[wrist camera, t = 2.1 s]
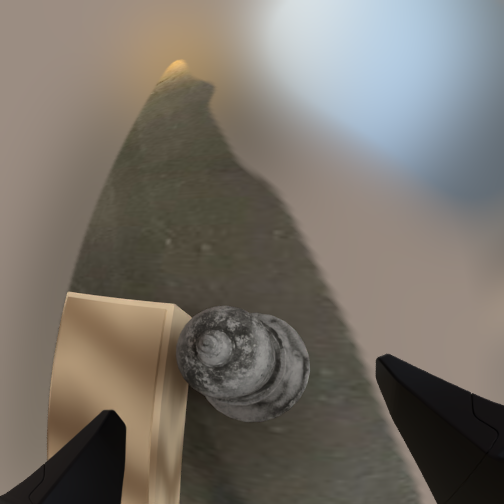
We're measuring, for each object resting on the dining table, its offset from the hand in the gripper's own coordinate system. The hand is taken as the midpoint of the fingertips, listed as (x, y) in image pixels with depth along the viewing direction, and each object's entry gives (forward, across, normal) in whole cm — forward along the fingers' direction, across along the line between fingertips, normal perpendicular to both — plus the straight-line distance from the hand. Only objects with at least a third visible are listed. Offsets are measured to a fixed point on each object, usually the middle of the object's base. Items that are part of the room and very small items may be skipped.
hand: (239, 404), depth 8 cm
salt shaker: (+8, 0, +6) cm, 10 cm away
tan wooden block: (+5, +10, +8) cm, 14 cm away
